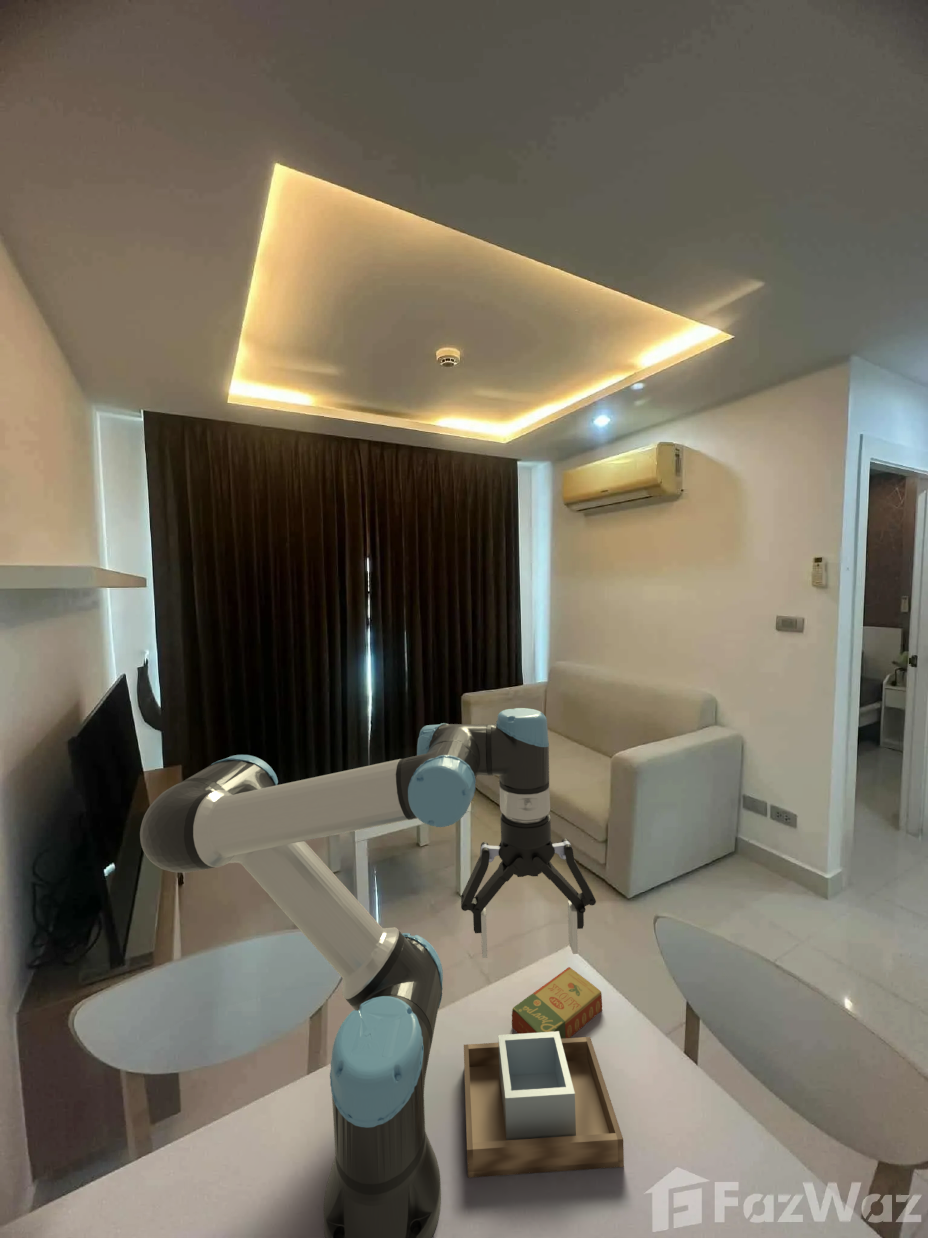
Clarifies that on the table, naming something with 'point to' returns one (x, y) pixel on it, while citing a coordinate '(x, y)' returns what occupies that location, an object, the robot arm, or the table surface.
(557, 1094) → the small crate
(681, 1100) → the table surface
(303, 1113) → the table surface
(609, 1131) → the crate
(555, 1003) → the carton
